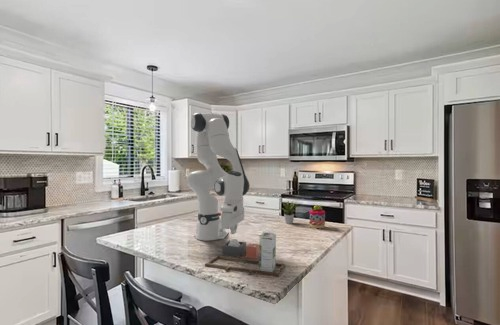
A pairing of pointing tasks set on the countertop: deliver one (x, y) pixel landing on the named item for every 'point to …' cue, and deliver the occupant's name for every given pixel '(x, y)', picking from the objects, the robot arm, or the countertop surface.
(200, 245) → the countertop surface
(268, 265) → the syrup box
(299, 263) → the countertop surface
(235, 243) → the popper dome
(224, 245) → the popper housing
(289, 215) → the house plant
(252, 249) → the die
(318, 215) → the potted succulent
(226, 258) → the frame
